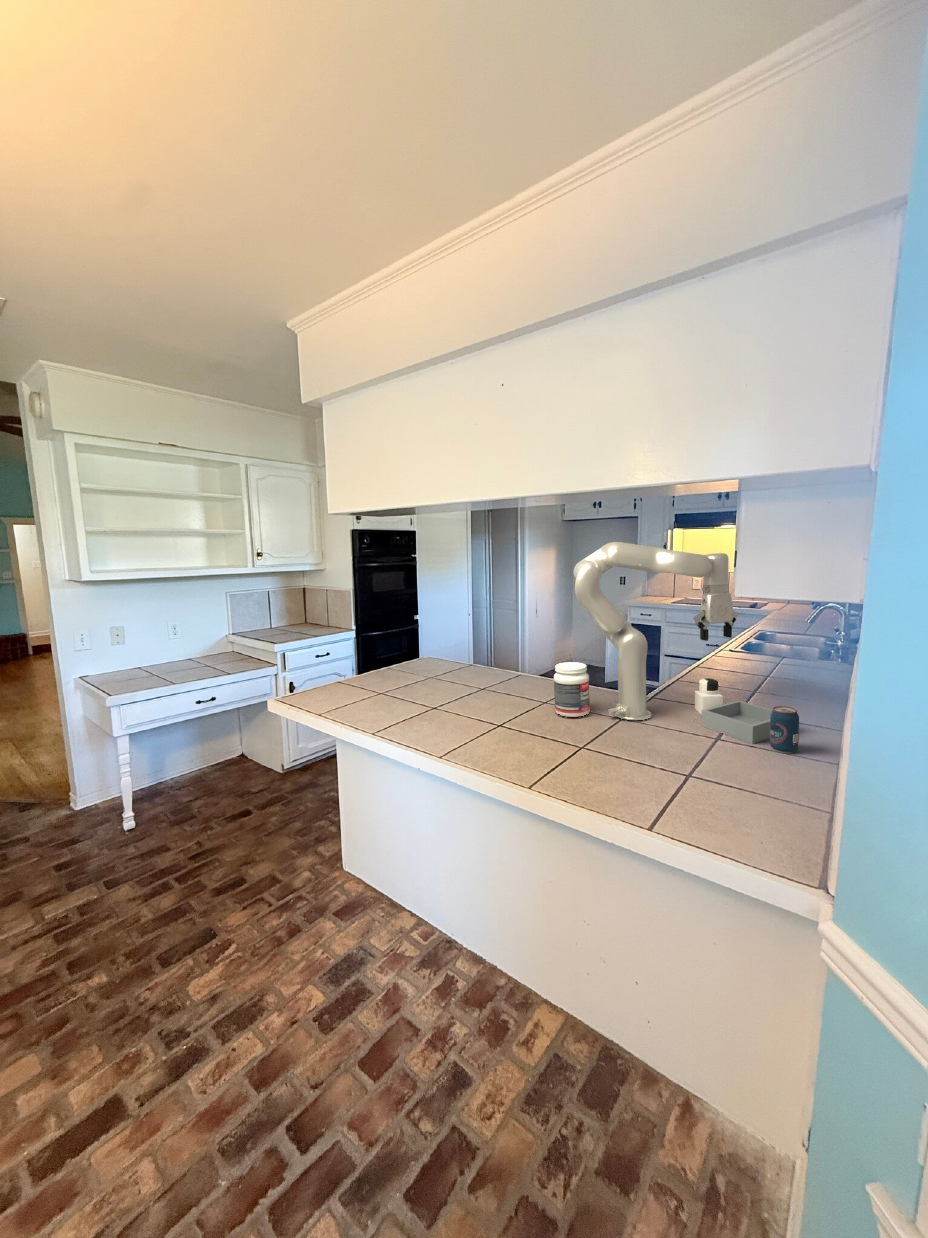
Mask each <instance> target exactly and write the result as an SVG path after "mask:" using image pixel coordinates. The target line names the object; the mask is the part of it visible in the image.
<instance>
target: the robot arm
mask: <svg viewBox="0 0 928 1238" xmlns="http://www.w3.org/2000/svg"><path fill="white" fill-rule="evenodd" d="M729 563H730V561H729V555H728V554H727V553H725V552H724V553H722V552H719V553H708V554H700V553H692V552H685V551H679V550H672V549H666V548H662V547H656V546H651V545H650V546H649V545H641V544H635V543H629V542H623V541H612V542H608V543H606V544H604V545H602V546H601V547H600V548H598V549H597V550H595V551H594V552H592V553H591V554H589V555H587V556H586V557H585V558H582V559H581V560H580V561H579V562H577V563H576V565H575V566H574V568H573V571H572V572H573V576H574V578H575V582H574V583H575V584H574V593H575V598H576V599H577V601H578V603H579V604H580V605H581V606H582V608H583V609H584V610H585V611H586V612H587V614H588V615H589V616H590V617H591V618H592V622H593V623H594V625H595V626H596V627H597V628H598V630H599V631H600V632H601V633H602V634H603V635H604V636H605V638H606V639H608V641H609V642H610V643H611V644H612V645H613V646H614V647H615V648H616V649H617V650H618V657H617V691H618V692H617V693H618V694H617V696H618V697H617V698H618V699H617V701H618V703H616V704H615V707H614V708H612V707H611V708H609V709H608V710H607V712H608V714H609V715H614V714H615V715H616V716H617V717H620V718H621V719H620V720H622V719H627V720H643V721H645V720H644V719H647V720H649V719H650V718H652V712H651V711H650V710H648V709H647V655H648V641H647V638H646V636H645V635H644V634H643V632H641V631H640V630H638V629H637V628H635V627H634V626H632V625H631V624H630V623H629V622H628V620H627V619H626V618H625V616H624V614H623V612H622V611H621V610H620V609H619V608H618V607H616V605H614V603H613V602H612V601H611V600H610V598H608V597H607V595H606V594H605V593H604V592H603V591H602V589H601V585H600V582H601V578H602V575H604V573H606V572H608V571H609V570H610V569H612V568H614V567H615V568H616V567H617V568H624V569H629V570H630V569H631V570H635V571H637V570H638V571H645V572H649V573H650V572H651V573H659V574H660V573H662V574H672V575H673V574H674V575H681V576H685V577H686V576H687V577H692V578H693V577H694V578H703V587H702V588H701V590H702V592H703V594H702V597H701V601H700V602H701V603H700V612H699V613H697V614H696V615H695V616H694V617H693V620H694V622H695V625H696V626H697V627H698V629H699V639H700V640H701V641H706V642H707V641H709V629H708V627H709V626H710V624H711V625H712V624H721V623H723V624H724V625H723V630H722V631H723V634H722V635H723V637H726V638H732V637H733V626H734V625H735V624H734V623H735V622H736V621H737V618H738V615H739V613H738V612H737V611H736V610H734V606H733V599H732V593H731V592H729ZM615 715H614V716H615ZM616 716H615V717H616ZM617 717H616V718H617ZM648 718H649V719H648ZM627 720H626V721H627Z"/></svg>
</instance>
